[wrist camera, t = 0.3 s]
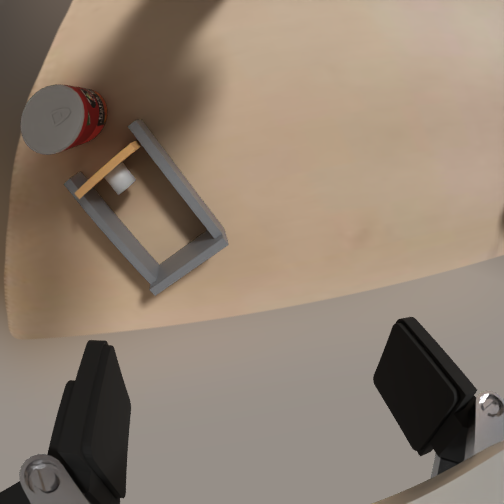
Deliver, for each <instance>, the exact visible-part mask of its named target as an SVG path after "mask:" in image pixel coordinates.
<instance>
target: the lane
mask: <svg viewBox="0 0 504 504" xmlns="http://www.w3.org/2000/svg"><path fill="white" fill-rule="evenodd" d="M128 128H129V129H130V130H131V132H132V133H133V134H134V135H135V137H136V138H137V139H138V141H139V142H140V143H141V145H142V146H143V147H144V149H145V150H146V151H147V153H148V154H149V155H150V156H151V158H152V159H153V160H154V162H155V163H156V164H157V166H158V167H159V168H160V169H161V171H162V172H163V173H164V175H165V176H166V177H167V179H168V180H169V181H170V182H171V184H172V185H173V186H174V188H175V189H176V190H177V191H178V193H179V194H180V195H181V197H182V198H183V199H184V200H185V202H186V203H187V204H188V206H189V207H190V208H191V209H192V211H193V212H194V213H195V214H196V216H197V217H198V218H199V220H200V221H201V222H202V223H203V225H204V226H205V227H206V228H207V231H206V232H204V233H203V234H201V235H200V236H199V237H197V238H196V239H194V240H193V241H192V242H190V243H189V244H187V245H186V246H185V247H183V248H182V249H180V250H179V251H178V252H176V253H175V254H173V255H172V256H171V257H169V258H168V259H167V260H165V261H164V262H162V263H161V264H160V265H159V264H158V263H157V262H156V261H155V260H154V258H153V257H152V256H151V255H150V254H149V253H148V252H147V251H146V249H145V248H144V247H143V246H142V245H141V244H140V243H139V241H138V240H137V239H136V238H135V237H134V236H133V234H132V233H131V232H130V231H129V230H128V229H127V227H126V226H125V225H124V224H123V223H122V222H121V220H120V219H119V218H118V217H117V216H116V214H115V213H114V212H113V211H112V210H111V208H110V207H109V206H108V205H107V204H106V202H105V201H104V200H103V199H102V197H101V196H100V195H99V194H98V192H97V191H96V190H95V189H94V188H92V189H91V190H89V191H88V192H87V193H86V194H85V195H84V196H82V197H81V198H80V199H79V198H78V197H77V196H76V195H75V192H76V191H77V190H78V189H79V188H80V187H81V186H82V185H83V184H84V183H86V182H87V181H88V180H87V179H86V177H85V176H84V175H83V174H82V172H79V173H77V174H76V175H74V176H73V177H71V178H70V179H69V180H68V181H66V182H65V183H64V185H65V186H66V188H67V189H68V190H69V192H70V193H71V194H72V195H73V197H74V198H75V199H76V200H77V202H78V203H79V204H80V205H81V206H82V208H83V209H84V210H85V211H86V212H87V214H88V215H89V216H90V217H91V218H92V220H93V221H94V222H95V223H96V224H97V226H98V227H99V228H100V229H101V230H102V231H103V233H104V234H105V235H106V236H107V237H108V238H109V239H110V241H111V242H112V243H113V244H114V245H115V246H116V247H117V249H118V250H119V251H120V252H121V253H122V254H123V255H124V256H125V257H126V259H127V260H128V261H129V262H130V263H131V264H132V265H133V266H134V267H135V268H136V269H137V271H138V272H139V273H140V274H141V275H142V276H143V277H144V278H145V279H146V280H147V281H148V282H149V283H150V291H151V292H152V293H153V294H154V295H155V296H156V295H157V294H159V293H160V292H161V291H163V290H164V289H166V288H167V287H168V286H170V285H171V284H173V283H174V282H176V281H177V280H178V279H180V278H181V277H183V276H184V275H186V274H187V273H189V272H190V271H191V270H193V269H194V268H196V267H197V266H199V265H200V264H202V263H203V262H204V261H206V260H207V259H209V258H210V257H212V256H213V255H215V254H216V253H217V252H219V251H220V250H222V249H223V248H225V247H226V246H228V240H227V236H226V233H225V229H224V227H223V226H222V225H221V224H220V222H219V221H218V220H217V218H216V217H215V216H214V214H213V213H212V212H211V210H210V209H209V208H208V207H207V205H206V204H205V203H204V201H203V200H202V199H201V197H200V196H199V195H198V193H197V192H196V191H195V189H194V188H193V187H192V186H191V184H190V183H189V182H188V180H187V179H186V178H185V176H184V175H183V174H182V172H181V171H180V170H179V168H178V167H177V166H176V164H175V163H174V162H173V160H172V159H171V158H170V157H169V155H168V154H167V153H166V151H165V150H164V149H163V147H162V146H161V145H160V143H159V142H158V141H157V139H156V138H155V137H154V135H153V134H152V133H151V131H150V130H149V129H148V127H147V126H146V125H145V123H144V122H143V121H142V119H140V120H135V121H134V122H133V123H131V124H130V125H129V126H128Z"/></svg>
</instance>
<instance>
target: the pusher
mask: <svg viewBox="0 0 504 504" xmlns="http://www.w3.org/2000/svg"><path fill="white" fill-rule="evenodd" d="M141 146H142V145H141V143H140V142H139V141H138V140H136V141H134V142H132V143H130V144H129V145H128V146H127V147H125V148H124V149H123V150H122V151H121V152H119V153H118V154H117V155H116V156H115V157H114V158H112V159H111V160H110V161H109V162H108V163H107V164H105V165H104V166H103V167H102V168H101V169H100V170H99V171H98V172H96V173H95V174H94V175H93V176H92V177H91V178H90V179H89V180H88V181H87V182H86V183H84V184H83V185H82V186H81V187H80V188H79V189H78V190H77V191H76V192H75V195H76V196H77V197H78V198H79V199H80V198H81V197H82V196H84V195H85V194H86V193H87V192H88V191H89V190H91V189H92V188H93V187H94V186H95V185H96V184H97V183H99V182H100V181H101V180H102V179H103V178H105V179H106V180H107V182H108V183H109V184H110V185H111V187H112V188H113V189H114V190H115V192H116V193H117V194H118V195H119V194H121V193H122V192H123V191H124V190H125V189H127V188H128V187H129V186H130V185H131V184H132V183H133V182H134V181H135V180H136V179H135V178H134V176H133V175H132V174H131V172H130V171H129V170H128V169H127V167H126V166H125V165H124V164H123V161H124V160H125V159H126V158H128V157H129V156H130V155H131V154H132V153H134V152H135V151H136V150H137V149H139V148H140V147H141Z"/></svg>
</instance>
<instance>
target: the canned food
mask: <svg viewBox="0 0 504 504" xmlns="http://www.w3.org/2000/svg"><path fill="white" fill-rule="evenodd" d="M106 118H107V107H106V103H105V101H104V99H103V98H102V96H101V95H100V94H99V93H97V92H95V91H94V90H90V89H86V88H80V87H74V86H68V85H51V86H47V87H45V88H42V89H41V90H39V91H38V92H36V93H35V94H34V95H33V96H32V97H31V98H30V100H29V101H28V102H27V104H26V106H25V108H24V110H23V114H22V117H21V133H22V136H23V139H24V141H25V143H26V144H27V146H28V147H29V148H30V149H32V150H33V151H35V152H36V153H40V154H46V155H49V154H56V153H58V152H62V151H64V150H67V149H70V148H72V147H75V146H77V145H80V144H83V143H86V142H88V141H90V140H92V139H93V138H95V137H96V136H97V135H98V134H99V133H100V131H101V130H102V128H103V127H104V124H105V122H106Z"/></svg>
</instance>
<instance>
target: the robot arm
mask: <svg viewBox="0 0 504 504" xmlns="http://www.w3.org/2000/svg"><path fill="white" fill-rule="evenodd" d="M373 380H374V384H375V386H376V388H377V389H378V391H379V393H380V394H381V396H382V398H383V399H384V401H385V403H386V404H387V406H388V408H389V409H390V411H391V413H392V414H393V416H394V418H395V419H396V421H397V423H398V425H399V426H400V428H401V430H402V431H403V433H404V435H405V436H406V438H407V440H408V442H409V443H410V445H411V447H412V448H413V449H414V450H415V451H417V452H418V454H419V455H420V456H422V455H424V454H427V453H429V452H431V451H432V450H433V449H434V450H435V452H436V454H435V460H434V465H433V470H432V474H431V479H429V480H427V481H425V482H423V483H420V484H418V485H416V486H414V487H412V488H410V489H407V490H405V491H403V492H400V493H398V494H395V495H393V496H391V497H388V498H385V499H383V500H380V501H378V502H375V503H372V504H504V399H503V398H502V397H501V396H500V395H498V394H497V393H495V392H492V391H483V392H481V393H479V394H478V396H477V397H475V396H474V394H475V393H476V391H477V389H476V388H475V387H474V386H473V384H472V383H471V382H470V381H469V379H468V378H467V377H466V376H465V375H464V374H463V372H462V371H461V370H460V369H459V368H458V366H457V365H456V364H455V363H454V362H453V360H452V359H451V358H450V357H449V356H448V355H447V354H446V353H445V351H444V350H443V349H442V348H441V347H440V345H438V343H437V342H436V341H435V340H434V339H433V338H432V337H431V335H430V334H429V333H428V332H427V331H426V330H425V329H424V328H423V326H422V325H420V323H419V322H418V321H417V320H416V319H415V318H413V317H408V318H403V319H399V320H397V322H396V324H394V325H393V327H392V330H391V333H390V336H389V338H388V341H387V344H386V346H385V349H384V352H383V354H382V357H381V359H380V362H379V364H378V367H377V369H376V371H375V374H374V377H373ZM130 414H131V403H130V399H129V396H128V393H127V390H126V387H125V384H124V381H123V377H122V374H121V371H120V367H119V364H118V360H117V357H116V353H115V350H114V347H113V346H111V345H108V343H107V341H96V340H89V341H88V343H87V345H86V348H85V351H84V354H83V358H82V360H81V364H80V367H79V370H78V373H77V377H76V380H75V381H72V380H71V381H68V383H67V384H66V386H65V389H64V393H63V396H62V400H61V404H60V407H59V410H58V414H57V417H56V421H55V425H54V429H53V433H52V437H51V441H50V446H49V450H48V455H46V454H38V455H34V456H32V457H30V458H29V459H27V460H26V461H25V462H24V463H23V465H22V466H21V470H20V474H19V476H20V481H19V482H18V483H16V484H14V485H13V486H11V487H9V488H7V489H6V490H4V491H2V492H1V493H0V504H120V498H124V497H125V493H126V467H127V451H128V437H129V424H130Z"/></svg>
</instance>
